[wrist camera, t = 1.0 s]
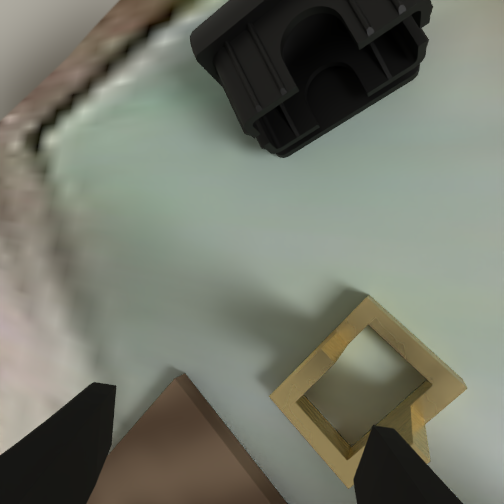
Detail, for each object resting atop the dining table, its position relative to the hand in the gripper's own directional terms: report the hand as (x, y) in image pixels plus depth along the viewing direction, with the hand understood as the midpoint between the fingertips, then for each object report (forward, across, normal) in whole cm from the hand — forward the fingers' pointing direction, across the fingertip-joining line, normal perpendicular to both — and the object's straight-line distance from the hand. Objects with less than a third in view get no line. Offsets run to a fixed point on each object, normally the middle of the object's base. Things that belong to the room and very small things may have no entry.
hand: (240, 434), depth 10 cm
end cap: (+16, -2, -12) cm, 20 cm away
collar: (+9, -7, +4) cm, 12 cm away
